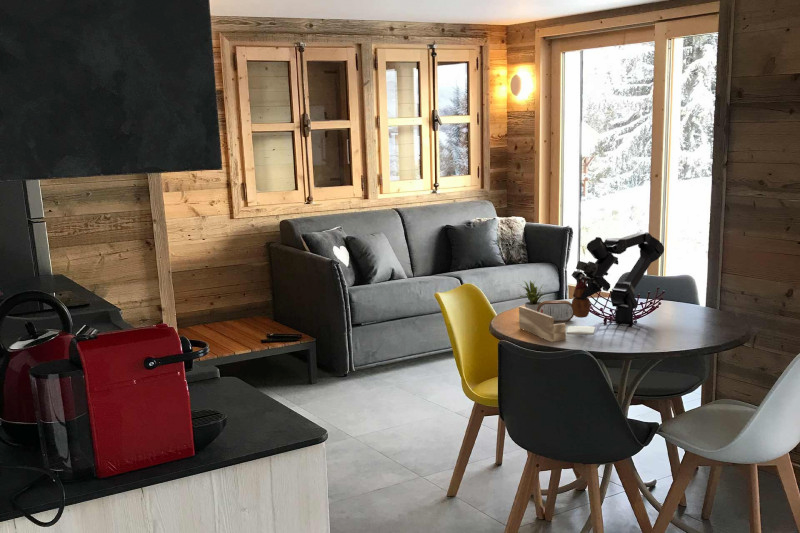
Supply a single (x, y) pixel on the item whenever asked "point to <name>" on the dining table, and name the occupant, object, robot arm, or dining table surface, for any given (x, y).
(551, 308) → the tin
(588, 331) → the board
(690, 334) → the dining table surface
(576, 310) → the wooden figurine
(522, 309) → the shelf bay
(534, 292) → the house plant
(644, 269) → the robot arm
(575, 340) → the dining table surface
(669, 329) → the dining table surface
